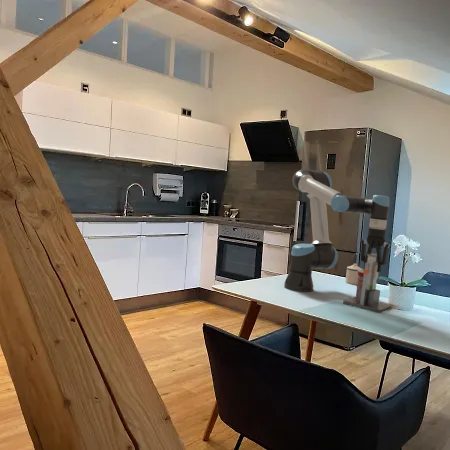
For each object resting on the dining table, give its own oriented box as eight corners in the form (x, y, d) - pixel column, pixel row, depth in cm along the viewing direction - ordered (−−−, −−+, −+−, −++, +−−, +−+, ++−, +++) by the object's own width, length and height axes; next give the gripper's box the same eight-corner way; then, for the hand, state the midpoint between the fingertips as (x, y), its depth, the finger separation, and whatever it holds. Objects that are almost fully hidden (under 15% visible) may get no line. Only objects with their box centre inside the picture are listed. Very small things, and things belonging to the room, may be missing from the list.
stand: (342, 303, 216) (348, 259, 214) (355, 299, 228) (361, 257, 226) (380, 313, 205) (386, 266, 203) (391, 308, 216) (397, 264, 215)
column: (361, 301, 216) (367, 253, 214) (365, 300, 219) (371, 253, 217) (370, 304, 213) (377, 255, 211) (374, 302, 216) (380, 254, 215)
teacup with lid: (363, 285, 269) (366, 265, 268) (350, 284, 267) (352, 264, 266) (352, 280, 281) (355, 262, 280) (339, 280, 278) (342, 261, 277)
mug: (375, 300, 231) (378, 274, 229) (358, 298, 230) (361, 272, 229) (366, 294, 243) (369, 269, 242) (349, 293, 242) (352, 267, 241)
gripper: (356, 226, 216) (350, 274, 218) (392, 231, 205) (386, 282, 207) (363, 226, 222) (357, 273, 223) (398, 230, 211) (391, 280, 213)
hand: (371, 277), depth 215 cm, fingers closed on column, 4 cm apart
